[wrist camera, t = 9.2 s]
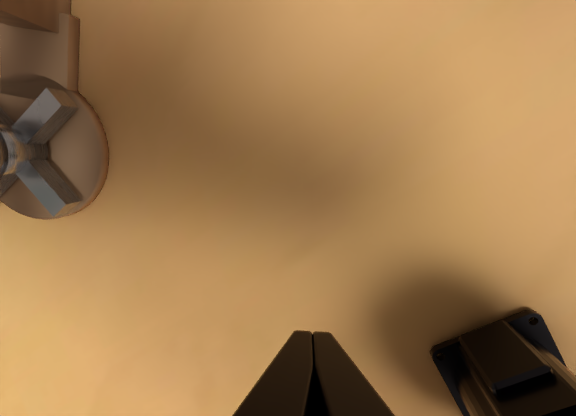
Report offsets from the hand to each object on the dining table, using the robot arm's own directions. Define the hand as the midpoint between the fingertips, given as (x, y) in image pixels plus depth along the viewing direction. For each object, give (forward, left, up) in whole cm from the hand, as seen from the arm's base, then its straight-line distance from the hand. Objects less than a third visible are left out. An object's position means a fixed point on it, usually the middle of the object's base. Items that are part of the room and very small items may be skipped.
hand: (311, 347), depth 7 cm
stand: (+15, +12, -12) cm, 22 cm away
